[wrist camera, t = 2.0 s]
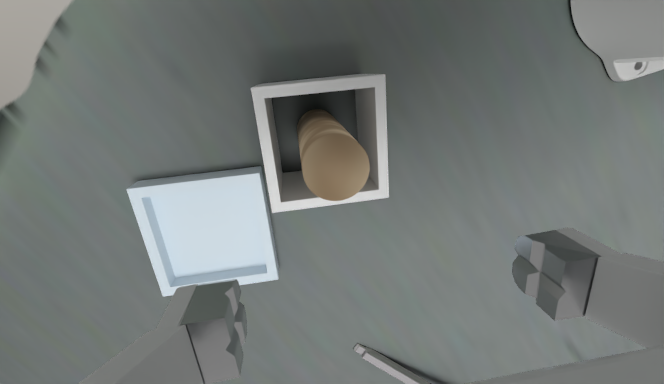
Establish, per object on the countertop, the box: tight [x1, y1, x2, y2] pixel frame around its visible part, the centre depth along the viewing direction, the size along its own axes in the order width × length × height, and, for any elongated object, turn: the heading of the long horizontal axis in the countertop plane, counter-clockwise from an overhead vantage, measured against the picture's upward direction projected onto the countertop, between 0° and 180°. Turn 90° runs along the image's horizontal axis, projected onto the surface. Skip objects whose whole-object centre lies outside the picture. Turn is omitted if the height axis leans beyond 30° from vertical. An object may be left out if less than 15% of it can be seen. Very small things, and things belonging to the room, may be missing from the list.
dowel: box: [297, 109, 370, 201], centre depth 26 cm, size 4×4×14 cm
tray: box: [127, 166, 279, 296], centre depth 33 cm, size 12×12×2 cm
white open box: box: [251, 74, 389, 213], centre depth 28 cm, size 10×10×8 cm
